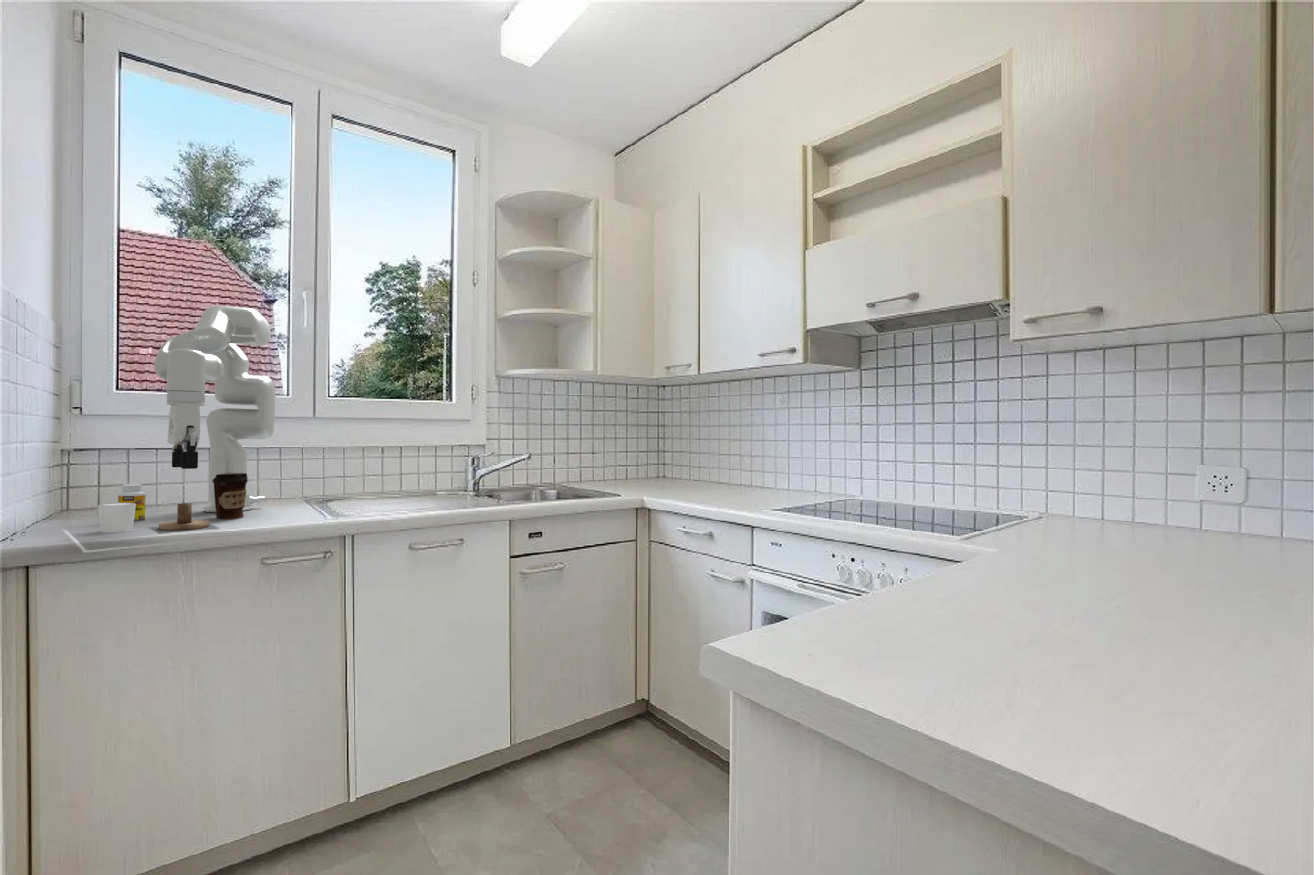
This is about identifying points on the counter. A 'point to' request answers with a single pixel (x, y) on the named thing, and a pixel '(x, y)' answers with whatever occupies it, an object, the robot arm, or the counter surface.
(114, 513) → the white cup
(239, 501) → the coffee cup
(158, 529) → the mat
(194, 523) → the lid
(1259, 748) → the counter surface
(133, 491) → the supplement bottle
